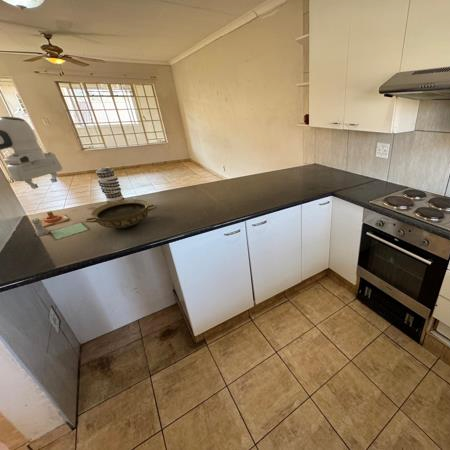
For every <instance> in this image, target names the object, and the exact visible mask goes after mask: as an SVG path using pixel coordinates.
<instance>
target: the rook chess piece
mask: <svg viewBox="0 0 450 450" xmlns="http://www.w3.org/2000/svg"><path fill="white" fill-rule="evenodd" d="M30 220H31V221H30V222H31V224H32V225H33V226H34V228H35V234H36V236H40V237H41V236H45V235H47V234H49V233H50V231H49V229H48V228H47V227H43V226H42V224H41V222H40V221H41V220H42V219H40V218H39V217H35V218H32V219H30Z"/></svg>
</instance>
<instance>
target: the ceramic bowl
mask: <svg viewBox="0 0 450 450" xmlns="http://www.w3.org/2000/svg"><path fill="white" fill-rule="evenodd" d="M156 208H157V205H156V204H150V203H149V201H147V200H145V199H139V198H135V199H134V198H131V199H124V200H120V201H115V202H111V203H108V204H107V203H105V204H102V205H100V206H98V207H96V208H95V209H94V210H92V211H91V213H90V215H91V217H88V218H85V219H84V222H85V223H97V224H99V225H100V226H101V227H103V228H110V229H128V228H131V227H134V226H135V225H136V224H138V223H140V222H142V221H144V220H145V219H146V218H147V216H148V215H149V212H150V211H153V210H154V209H155V210H156Z"/></svg>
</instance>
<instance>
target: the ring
mask: <svg viewBox="0 0 450 450" xmlns="http://www.w3.org/2000/svg"><path fill="white" fill-rule="evenodd" d="M53 215H54V217H55V218H53V219H50V218H49V216H46V217H44V218H42V220H44V222H45V223H48V222H49V223H50V222H55V221H58V220H60V219H61V218H62V217H61V215H62V214H53Z"/></svg>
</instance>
